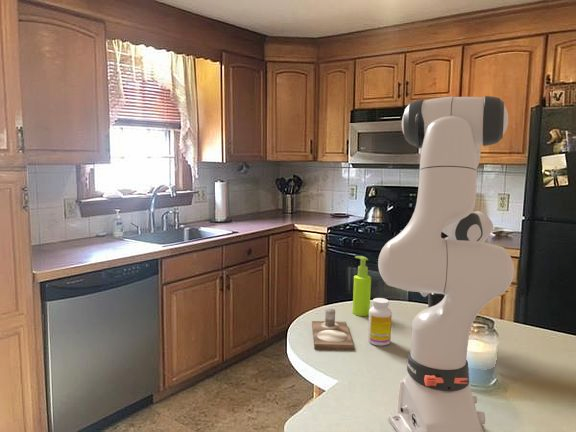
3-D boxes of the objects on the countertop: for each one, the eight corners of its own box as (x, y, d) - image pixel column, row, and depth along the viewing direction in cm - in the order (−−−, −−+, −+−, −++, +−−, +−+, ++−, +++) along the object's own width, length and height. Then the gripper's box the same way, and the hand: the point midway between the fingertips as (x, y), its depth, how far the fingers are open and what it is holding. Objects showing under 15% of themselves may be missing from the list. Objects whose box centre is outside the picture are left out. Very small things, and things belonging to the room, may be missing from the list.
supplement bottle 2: (432, 313, 164) (434, 280, 162) (451, 317, 160) (453, 284, 158) (424, 318, 159) (426, 284, 157) (443, 323, 155) (446, 288, 153)
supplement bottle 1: (393, 346, 136) (395, 303, 134) (371, 347, 135) (373, 304, 133) (385, 336, 143) (387, 296, 141) (364, 337, 142) (366, 297, 140)
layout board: (353, 349, 133) (353, 328, 132) (314, 349, 133) (315, 327, 132) (345, 326, 151) (346, 306, 150) (311, 325, 151) (312, 306, 150)
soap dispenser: (361, 308, 168) (364, 254, 165) (372, 314, 162) (375, 258, 159) (347, 310, 165) (349, 255, 163) (358, 316, 159) (360, 259, 156)
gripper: (425, 242, 148) (394, 273, 148) (458, 257, 128) (423, 293, 128) (437, 256, 149) (407, 286, 149) (472, 273, 129) (437, 308, 129)
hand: (414, 290), depth 138 cm, fingers open, 8 cm apart
